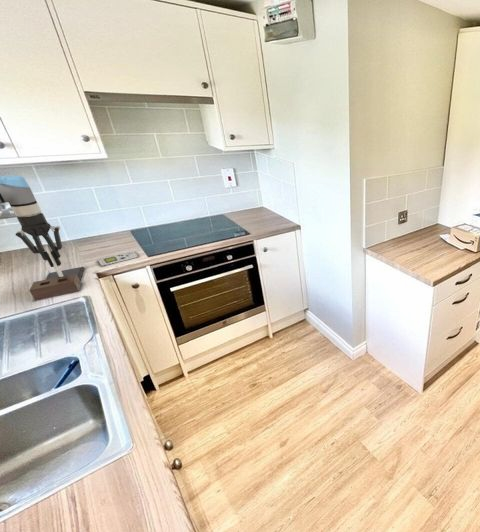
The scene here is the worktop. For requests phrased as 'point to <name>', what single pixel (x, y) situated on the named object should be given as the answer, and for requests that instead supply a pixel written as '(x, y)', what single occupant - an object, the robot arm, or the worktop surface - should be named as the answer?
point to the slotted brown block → (55, 287)
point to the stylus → (53, 261)
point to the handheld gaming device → (117, 258)
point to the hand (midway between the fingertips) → (56, 265)
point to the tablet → (68, 273)
